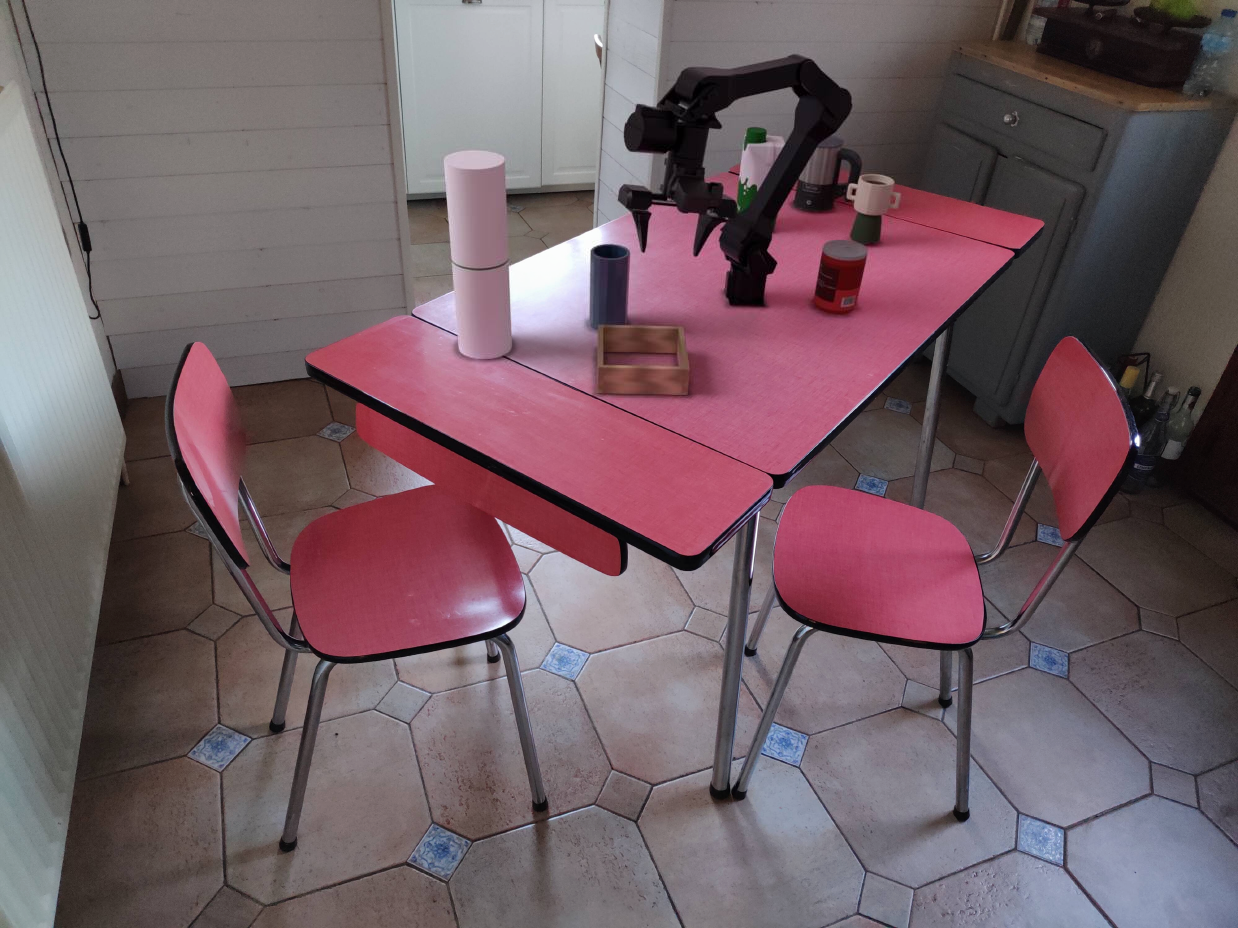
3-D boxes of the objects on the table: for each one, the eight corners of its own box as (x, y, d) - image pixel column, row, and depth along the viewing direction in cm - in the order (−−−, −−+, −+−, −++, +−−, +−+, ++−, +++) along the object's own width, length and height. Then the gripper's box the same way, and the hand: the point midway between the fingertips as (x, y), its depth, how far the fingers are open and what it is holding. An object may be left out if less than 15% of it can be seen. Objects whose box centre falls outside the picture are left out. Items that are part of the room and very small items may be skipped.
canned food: (860, 301, 162) (872, 244, 156) (850, 319, 156) (862, 260, 150) (819, 292, 165) (829, 236, 158) (807, 309, 159) (818, 251, 152)
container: (460, 333, 147) (446, 150, 129) (512, 333, 148) (505, 150, 130) (456, 359, 140) (441, 169, 123) (511, 359, 141) (504, 169, 123)
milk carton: (732, 217, 195) (743, 123, 183) (773, 219, 195) (786, 125, 183) (735, 232, 187) (747, 135, 176) (778, 234, 188) (792, 137, 176)
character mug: (894, 241, 187) (908, 180, 179) (884, 252, 182) (899, 189, 174) (844, 230, 191) (855, 169, 183) (833, 241, 186) (845, 179, 178)
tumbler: (631, 318, 154) (634, 247, 146) (620, 335, 149) (623, 262, 141) (596, 312, 155) (597, 241, 147) (584, 328, 150) (585, 256, 143)
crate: (680, 351, 145) (682, 326, 142) (687, 395, 134) (689, 369, 131) (597, 349, 145) (598, 324, 142) (597, 393, 134) (598, 367, 131)
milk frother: (791, 211, 199) (801, 143, 190) (792, 188, 212) (802, 123, 203) (855, 217, 197) (869, 149, 189) (852, 193, 210) (865, 129, 201)
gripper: (644, 159, 130) (628, 264, 137) (760, 172, 136) (739, 272, 143) (624, 146, 139) (610, 245, 146) (732, 159, 145) (714, 253, 152)
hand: (669, 254), depth 147 cm, fingers open, 9 cm apart
